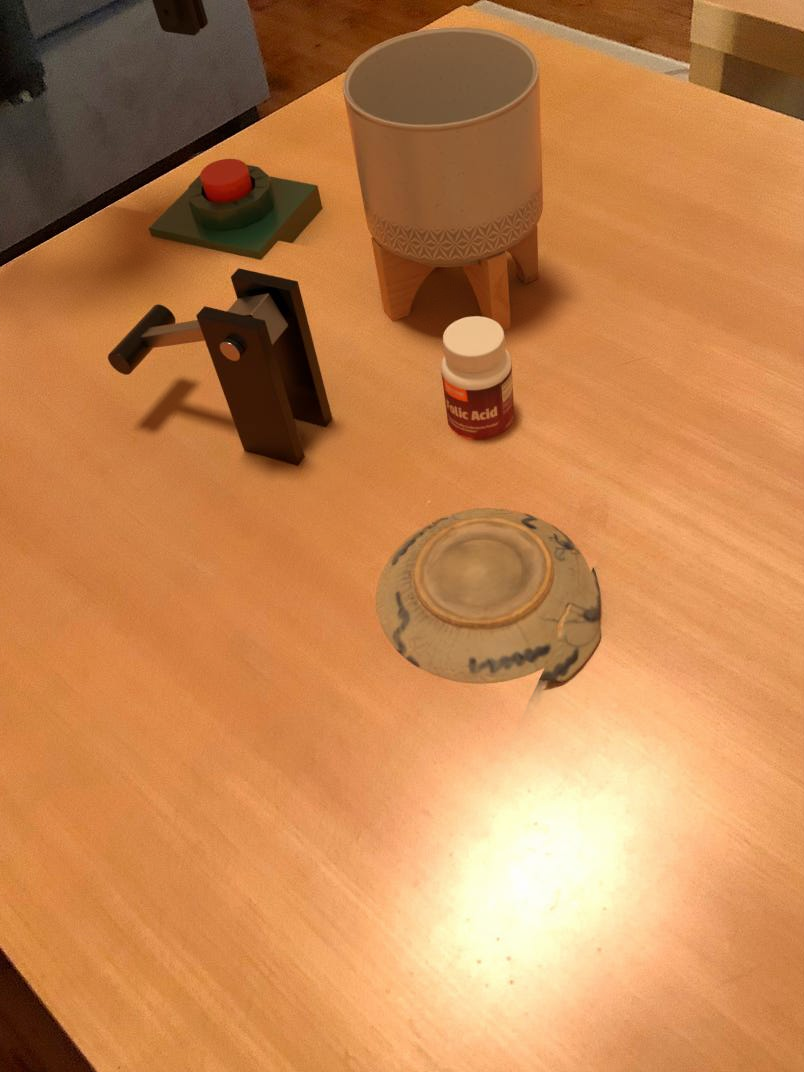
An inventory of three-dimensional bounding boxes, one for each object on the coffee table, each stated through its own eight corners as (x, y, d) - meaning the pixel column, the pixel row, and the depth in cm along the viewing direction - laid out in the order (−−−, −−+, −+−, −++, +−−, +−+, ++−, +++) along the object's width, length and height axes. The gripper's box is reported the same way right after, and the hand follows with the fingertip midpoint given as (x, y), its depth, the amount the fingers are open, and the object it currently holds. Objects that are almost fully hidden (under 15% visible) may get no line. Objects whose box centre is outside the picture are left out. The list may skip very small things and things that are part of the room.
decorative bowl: (523, 750, 59) (652, 570, 66) (519, 717, 56) (654, 532, 63) (320, 640, 65) (457, 485, 71) (307, 605, 62) (451, 446, 68)
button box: (156, 250, 90) (141, 208, 87) (218, 187, 95) (205, 145, 92) (265, 274, 87) (253, 231, 84) (322, 208, 92) (313, 165, 89)
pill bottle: (441, 451, 73) (427, 355, 67) (458, 404, 76) (446, 308, 69) (507, 458, 72) (500, 363, 66) (522, 411, 75) (517, 315, 68)
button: (196, 200, 88) (190, 180, 86) (222, 174, 90) (216, 155, 88) (237, 208, 87) (231, 188, 85) (261, 182, 89) (256, 162, 87)
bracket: (189, 471, 74) (125, 322, 64) (254, 390, 79) (205, 239, 68) (336, 514, 71) (294, 364, 60) (395, 427, 75) (366, 273, 65)
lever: (121, 379, 72) (99, 350, 70) (166, 330, 74) (146, 301, 73) (258, 363, 64) (236, 330, 63) (301, 309, 67) (282, 277, 65)
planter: (576, 316, 81) (576, 83, 66) (427, 377, 78) (394, 148, 63) (495, 234, 88) (480, 8, 73) (356, 288, 85) (311, 64, 70)
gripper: (111, -331, 68) (197, -22, 82) (-40, -253, 60) (85, 72, 75) (208, -330, 65) (279, -12, 80) (64, -249, 58) (171, 85, 73)
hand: (185, 28), depth 78 cm, fingers closed
